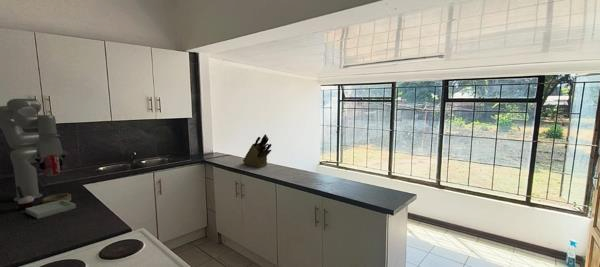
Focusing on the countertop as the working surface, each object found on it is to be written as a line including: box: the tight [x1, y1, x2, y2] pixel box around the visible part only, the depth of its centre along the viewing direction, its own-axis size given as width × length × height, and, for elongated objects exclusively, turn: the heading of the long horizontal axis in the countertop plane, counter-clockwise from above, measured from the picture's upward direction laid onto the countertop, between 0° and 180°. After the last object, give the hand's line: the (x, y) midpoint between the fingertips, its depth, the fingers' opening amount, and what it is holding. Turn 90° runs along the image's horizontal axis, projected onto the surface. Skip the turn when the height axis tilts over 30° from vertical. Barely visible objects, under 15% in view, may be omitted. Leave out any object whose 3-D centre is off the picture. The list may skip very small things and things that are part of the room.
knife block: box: [242, 134, 272, 168], centre depth 256 cm, size 11×35×31 cm, turn 43°
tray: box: [25, 200, 77, 220], centre depth 146 cm, size 16×16×2 cm
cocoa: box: [15, 186, 35, 210], centre depth 150 cm, size 10×6×12 cm, turn 56°
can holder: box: [41, 193, 72, 205], centre depth 160 cm, size 12×12×3 cm
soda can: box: [42, 154, 61, 177], centre depth 152 cm, size 7×7×12 cm
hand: (51, 167), depth 152 cm, fingers closed on soda can, 6 cm apart
